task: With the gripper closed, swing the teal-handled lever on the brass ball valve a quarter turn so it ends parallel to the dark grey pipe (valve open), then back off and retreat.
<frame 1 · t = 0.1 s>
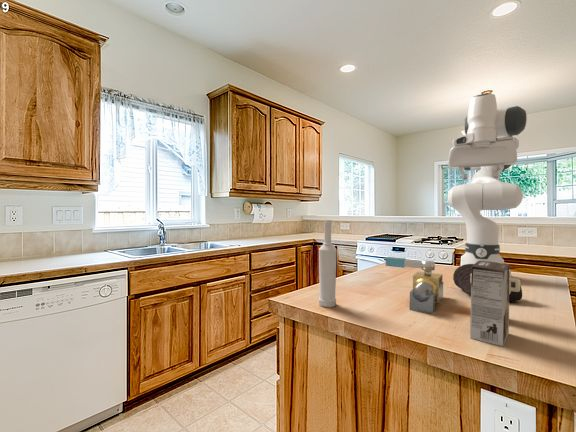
hand: (480, 179, 106), 39 cm above the counter, tool pointing down, fingers open, 8 cm apart
coffee box: (489, 336, 68), on the counter
valve pipe: (427, 302, 92), on the counter
lever: (409, 263, 95), point 11 cm above the counter, hinge at 0.0°
bottle: (327, 305, 90), on the counter
character mug: (493, 319, 79), on the counter
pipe: (484, 297, 100), on the counter
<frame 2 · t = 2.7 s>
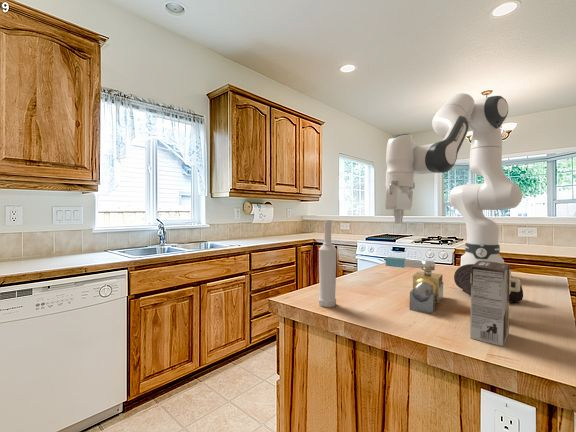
hand: (398, 223, 103), 23 cm above the counter, tool pointing down, fingers closed
nothing on the counter moved.
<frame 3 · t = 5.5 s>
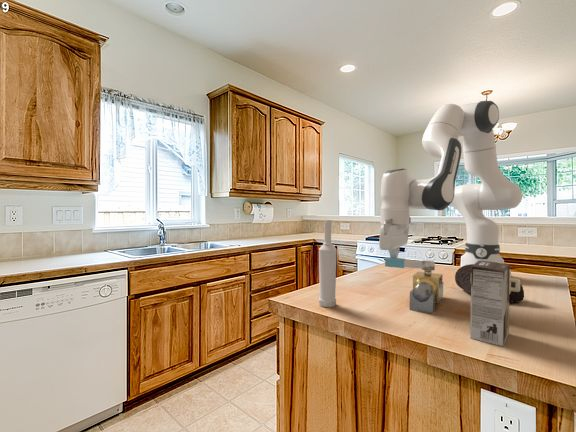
hand: (394, 261, 99), 11 cm above the counter, tool pointing down, fingers closed
lever: (409, 263, 95), point 11 cm above the counter, hinge at 4.9°, touching gripper
everything else where it was.
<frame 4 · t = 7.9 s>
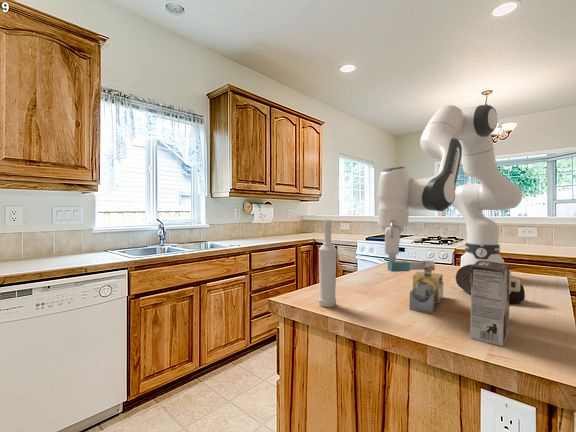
hand: (392, 265, 93), 11 cm above the counter, tool pointing down, fingers closed
lever: (411, 265, 91), point 11 cm above the counter, hinge at 43.5°, touching gripper
everything else where it was.
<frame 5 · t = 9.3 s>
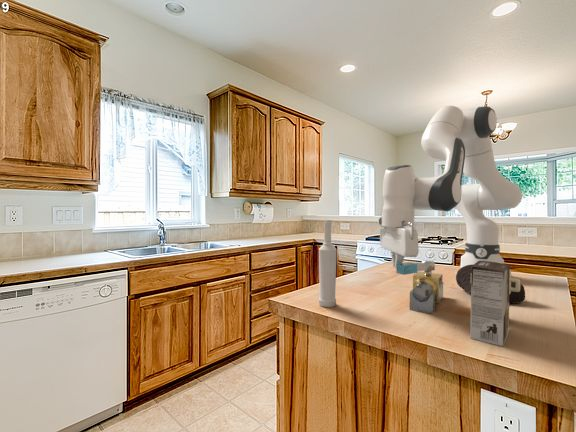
hand: (397, 267, 90), 11 cm above the counter, tool pointing down, fingers closed
lever: (416, 266, 89), point 11 cm above the counter, hinge at 64.6°, touching gripper
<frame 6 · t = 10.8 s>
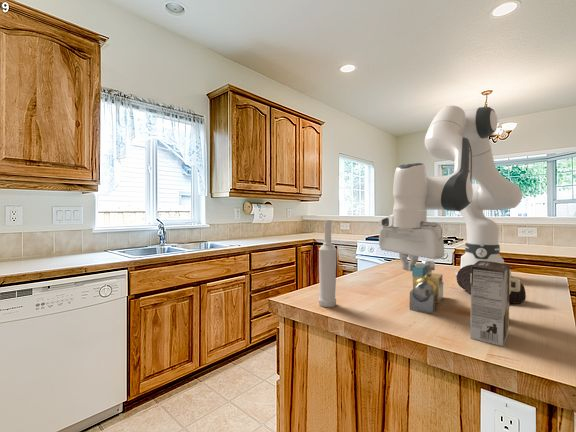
hand: (408, 270, 86), 11 cm above the counter, tool pointing down, fingers closed
lever: (423, 268, 88), point 11 cm above the counter, hinge at 87.7°, touching gripper
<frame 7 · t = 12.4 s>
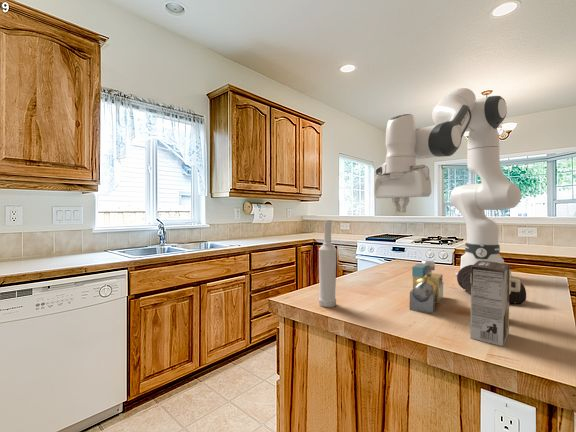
hand: (400, 212, 95), 27 cm above the counter, tool pointing down, fingers closed
lever: (423, 268, 88), point 11 cm above the counter, hinge at 87.7°
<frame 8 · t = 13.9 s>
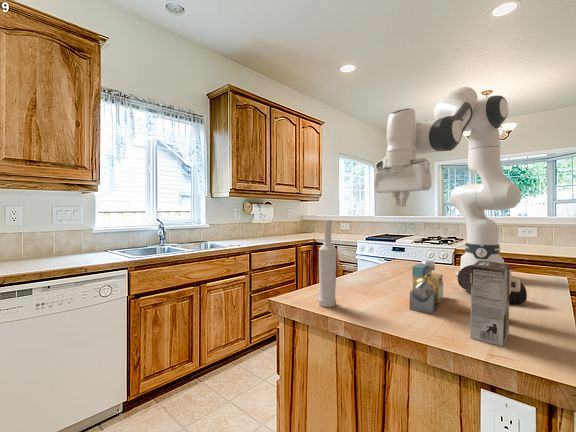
hand: (400, 206, 95), 29 cm above the counter, tool pointing down, fingers closed
at the end: lever at +88° (first picture: +0°) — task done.
